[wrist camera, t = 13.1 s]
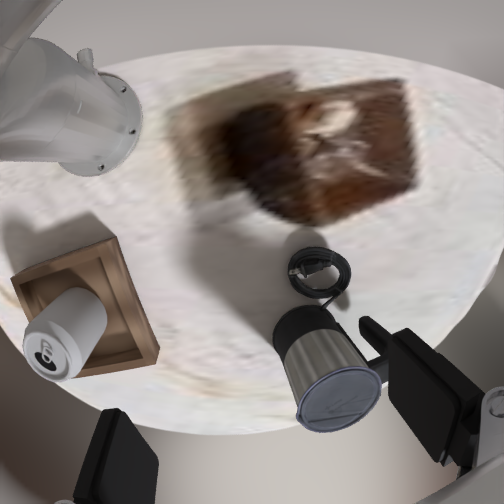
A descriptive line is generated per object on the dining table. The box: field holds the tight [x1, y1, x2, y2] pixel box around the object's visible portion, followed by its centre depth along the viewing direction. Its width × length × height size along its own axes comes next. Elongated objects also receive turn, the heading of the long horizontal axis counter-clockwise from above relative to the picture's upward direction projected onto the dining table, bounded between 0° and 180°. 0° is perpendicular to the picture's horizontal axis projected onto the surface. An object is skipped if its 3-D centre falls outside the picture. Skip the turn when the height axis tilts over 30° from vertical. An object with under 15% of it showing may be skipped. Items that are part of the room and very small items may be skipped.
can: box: [23, 287, 107, 382], centre depth 30 cm, size 8×8×12 cm
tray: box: [10, 236, 160, 379], centre depth 34 cm, size 16×16×4 cm
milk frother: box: [273, 247, 392, 433], centre depth 33 cm, size 14×16×15 cm
